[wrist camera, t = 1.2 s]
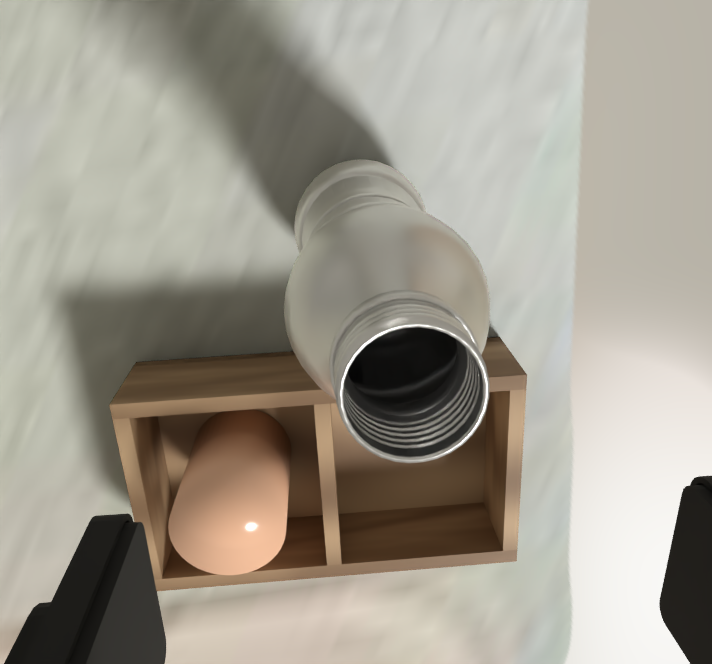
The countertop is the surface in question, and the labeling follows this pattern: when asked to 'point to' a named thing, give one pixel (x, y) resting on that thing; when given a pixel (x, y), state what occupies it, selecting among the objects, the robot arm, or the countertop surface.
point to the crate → (325, 471)
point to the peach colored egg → (233, 494)
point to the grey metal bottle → (388, 313)
